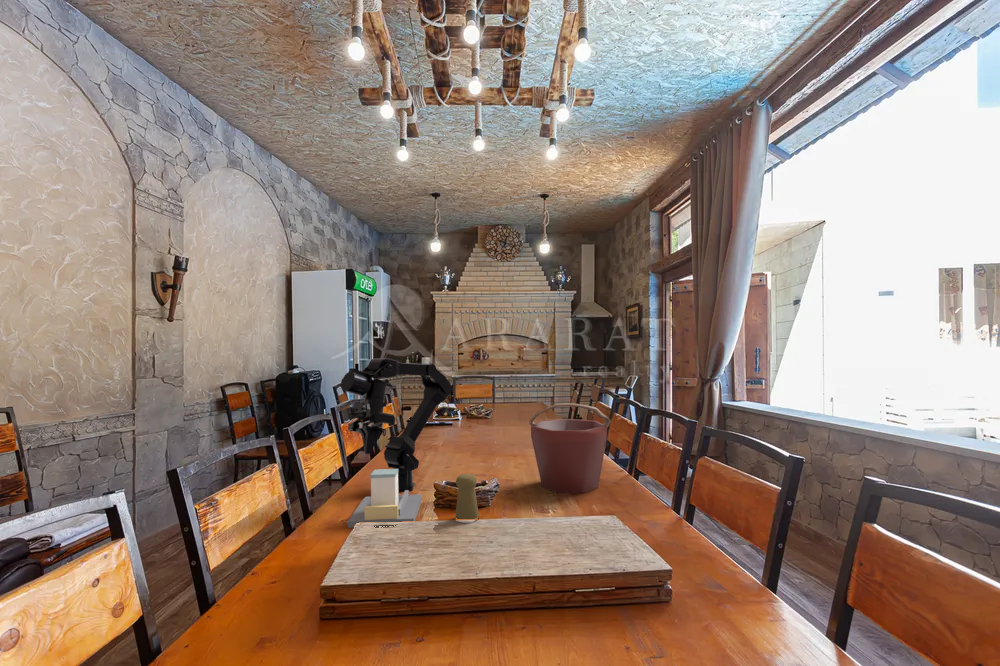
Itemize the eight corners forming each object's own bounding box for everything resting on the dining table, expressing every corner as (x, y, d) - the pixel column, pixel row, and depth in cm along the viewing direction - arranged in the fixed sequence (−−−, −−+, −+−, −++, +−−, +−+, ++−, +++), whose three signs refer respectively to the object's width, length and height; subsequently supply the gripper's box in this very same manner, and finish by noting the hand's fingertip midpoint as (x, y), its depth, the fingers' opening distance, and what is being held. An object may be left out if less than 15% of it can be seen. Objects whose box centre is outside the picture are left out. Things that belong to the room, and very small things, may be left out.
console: (365, 501, 137) (365, 485, 137) (422, 499, 138) (421, 483, 138) (347, 527, 117) (347, 509, 118) (413, 524, 118) (413, 506, 118)
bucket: (620, 482, 150) (618, 401, 151) (594, 502, 131) (591, 410, 132) (550, 472, 163) (548, 398, 164) (516, 490, 144) (514, 406, 145)
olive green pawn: (475, 523, 118) (474, 478, 118) (452, 522, 119) (451, 477, 119) (481, 515, 124) (480, 472, 124) (459, 514, 125) (458, 471, 125)
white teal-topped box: (375, 507, 127) (374, 469, 127) (399, 506, 127) (398, 468, 127) (371, 514, 121) (370, 474, 122) (395, 513, 122) (395, 474, 122)
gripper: (335, 400, 143) (326, 453, 137) (362, 387, 130) (353, 446, 124) (370, 407, 150) (363, 458, 144) (399, 395, 136) (392, 451, 130)
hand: (367, 453), depth 135 cm, fingers closed
